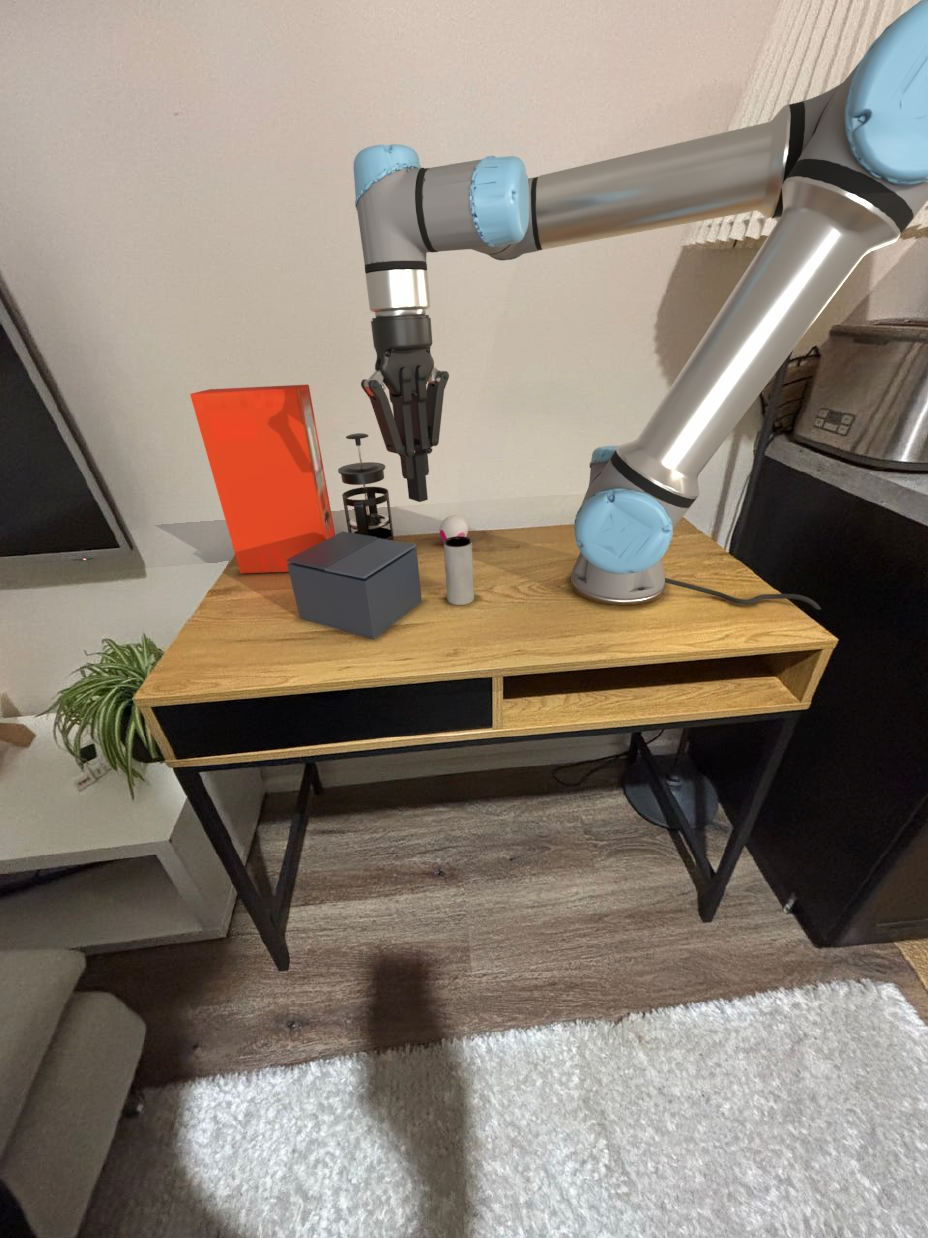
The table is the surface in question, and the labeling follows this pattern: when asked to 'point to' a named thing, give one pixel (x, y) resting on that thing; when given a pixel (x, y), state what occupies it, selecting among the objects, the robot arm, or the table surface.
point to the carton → (353, 588)
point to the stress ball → (453, 527)
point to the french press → (366, 496)
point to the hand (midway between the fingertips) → (418, 498)
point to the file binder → (266, 471)
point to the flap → (370, 558)
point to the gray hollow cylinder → (459, 570)
